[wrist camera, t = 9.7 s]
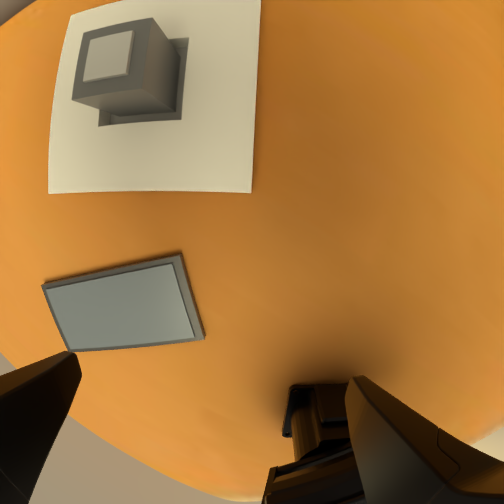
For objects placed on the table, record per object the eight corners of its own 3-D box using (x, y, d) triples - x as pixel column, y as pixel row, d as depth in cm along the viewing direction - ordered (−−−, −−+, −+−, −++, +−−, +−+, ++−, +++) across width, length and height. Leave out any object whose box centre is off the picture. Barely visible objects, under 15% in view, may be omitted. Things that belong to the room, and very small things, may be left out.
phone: (206, 331, 22) (204, 340, 21) (74, 345, 23) (67, 353, 21) (183, 250, 20) (178, 256, 19) (48, 280, 21) (39, 286, 20)
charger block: (175, 112, 17) (139, 86, 11) (119, 116, 17) (68, 99, 11) (180, 57, 16) (150, 14, 10) (125, 63, 16) (80, 30, 10)
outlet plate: (251, 191, 19) (251, 192, 17) (64, 191, 19) (48, 193, 17) (261, 1, 15) (261, -13, 13) (83, 24, 15) (71, 15, 13)
